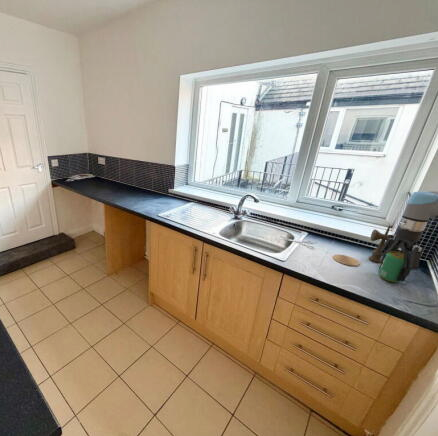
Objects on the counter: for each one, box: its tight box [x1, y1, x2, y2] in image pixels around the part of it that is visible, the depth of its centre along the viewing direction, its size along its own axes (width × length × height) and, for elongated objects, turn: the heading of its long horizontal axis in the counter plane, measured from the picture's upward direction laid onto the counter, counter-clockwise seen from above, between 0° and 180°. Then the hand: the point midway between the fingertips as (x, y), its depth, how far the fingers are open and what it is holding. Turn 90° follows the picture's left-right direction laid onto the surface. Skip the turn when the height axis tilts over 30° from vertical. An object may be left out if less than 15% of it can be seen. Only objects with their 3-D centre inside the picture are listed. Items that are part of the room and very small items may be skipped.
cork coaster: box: [332, 254, 360, 267], centre depth 125 cm, size 11×11×1 cm
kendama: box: [368, 225, 396, 264], centre depth 121 cm, size 6×10×20 cm, turn 58°
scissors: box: [279, 235, 318, 250], centre depth 144 cm, size 11×1×20 cm
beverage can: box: [378, 250, 409, 283], centre depth 108 cm, size 8×8×12 cm
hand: (391, 274), depth 110 cm, fingers closed on beverage can, 8 cm apart
